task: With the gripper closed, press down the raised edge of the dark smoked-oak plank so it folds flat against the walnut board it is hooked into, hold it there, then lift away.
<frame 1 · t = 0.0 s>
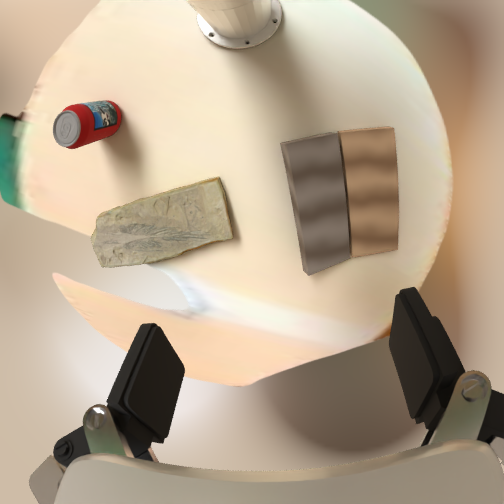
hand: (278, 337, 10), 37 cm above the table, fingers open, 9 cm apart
walnut board: (370, 192, 44), on the table
beverage can: (108, 118, 40), on the table
smoked oak plank: (320, 206, 43), point 3 cm above the table, hinge at 22.0°
stone slab: (155, 224, 50), on the table
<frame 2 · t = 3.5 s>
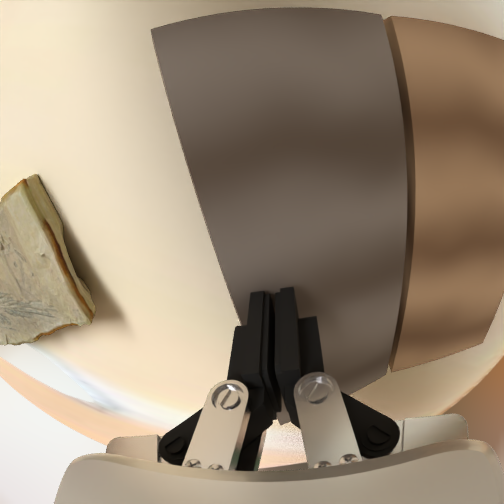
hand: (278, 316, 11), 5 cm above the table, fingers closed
walnut board: (460, 219, 13), on the table
smoked oak plank: (323, 271, 13), point 3 cm above the table, hinge at 19.9°, touching gripper
stone slab: (3, 281, 20), on the table
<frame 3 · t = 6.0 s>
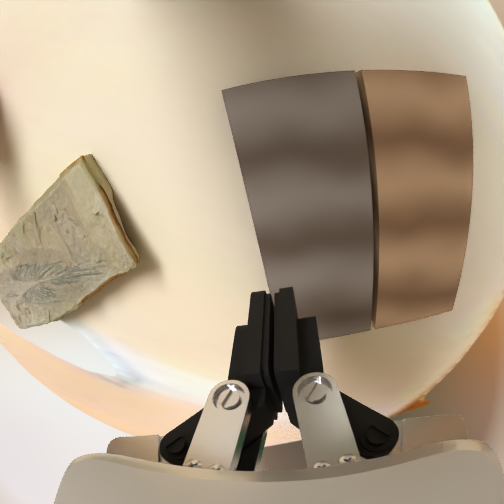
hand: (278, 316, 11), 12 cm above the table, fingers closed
walnut board: (418, 206, 20), on the table
smoked oak plank: (315, 227, 21), point 1 cm above the table, hinge at 1.6°
stone slab: (48, 261, 27), on the table
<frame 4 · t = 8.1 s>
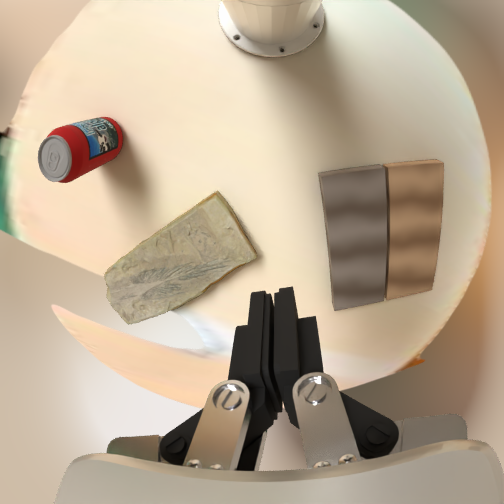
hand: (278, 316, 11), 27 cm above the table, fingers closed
walnut board: (411, 231, 38), on the table
beverage can: (106, 138, 34), on the table
smoked oak plank: (357, 244, 38), point 1 cm above the table, hinge at 1.6°
stone slab: (168, 265, 45), on the table
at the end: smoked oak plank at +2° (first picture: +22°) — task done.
